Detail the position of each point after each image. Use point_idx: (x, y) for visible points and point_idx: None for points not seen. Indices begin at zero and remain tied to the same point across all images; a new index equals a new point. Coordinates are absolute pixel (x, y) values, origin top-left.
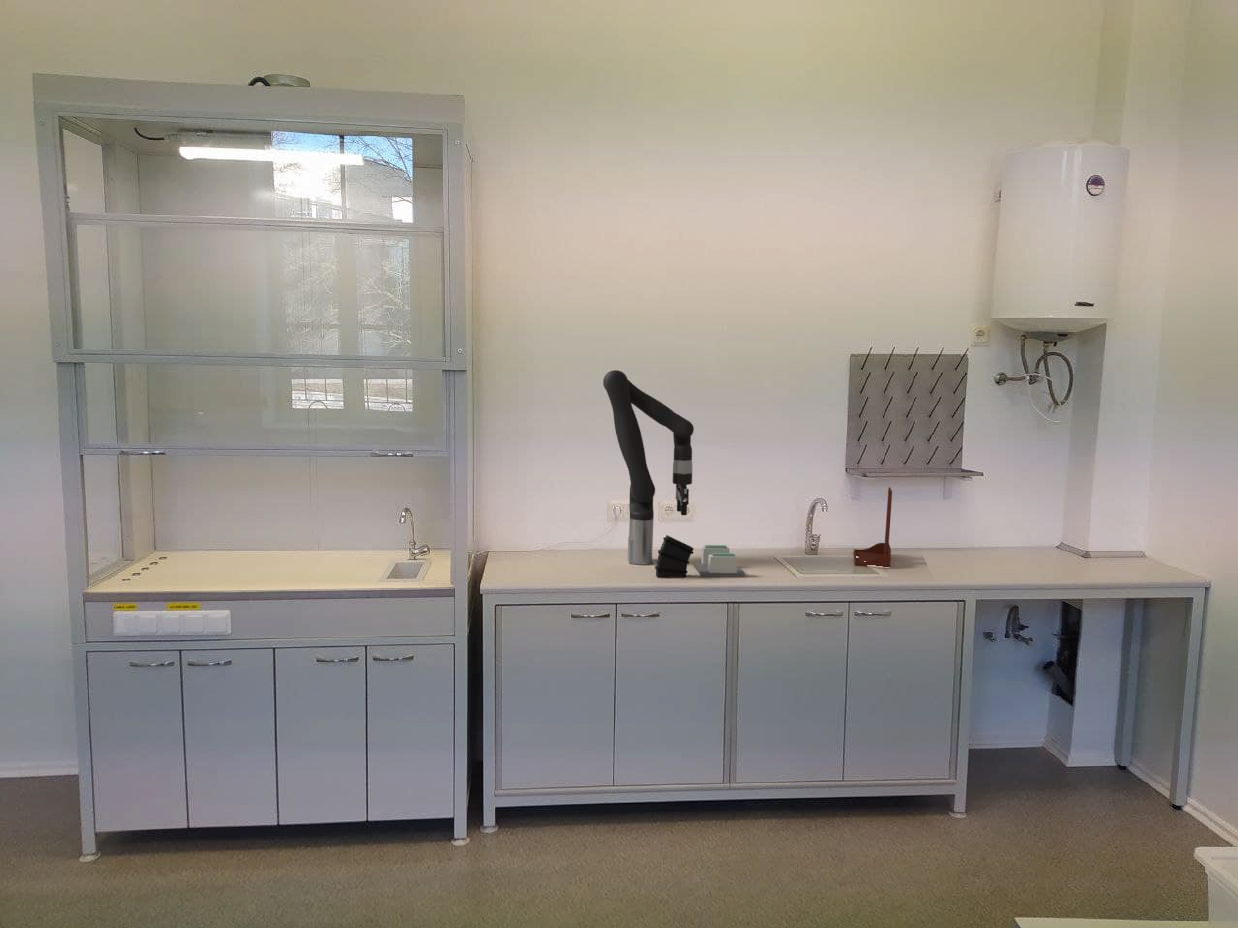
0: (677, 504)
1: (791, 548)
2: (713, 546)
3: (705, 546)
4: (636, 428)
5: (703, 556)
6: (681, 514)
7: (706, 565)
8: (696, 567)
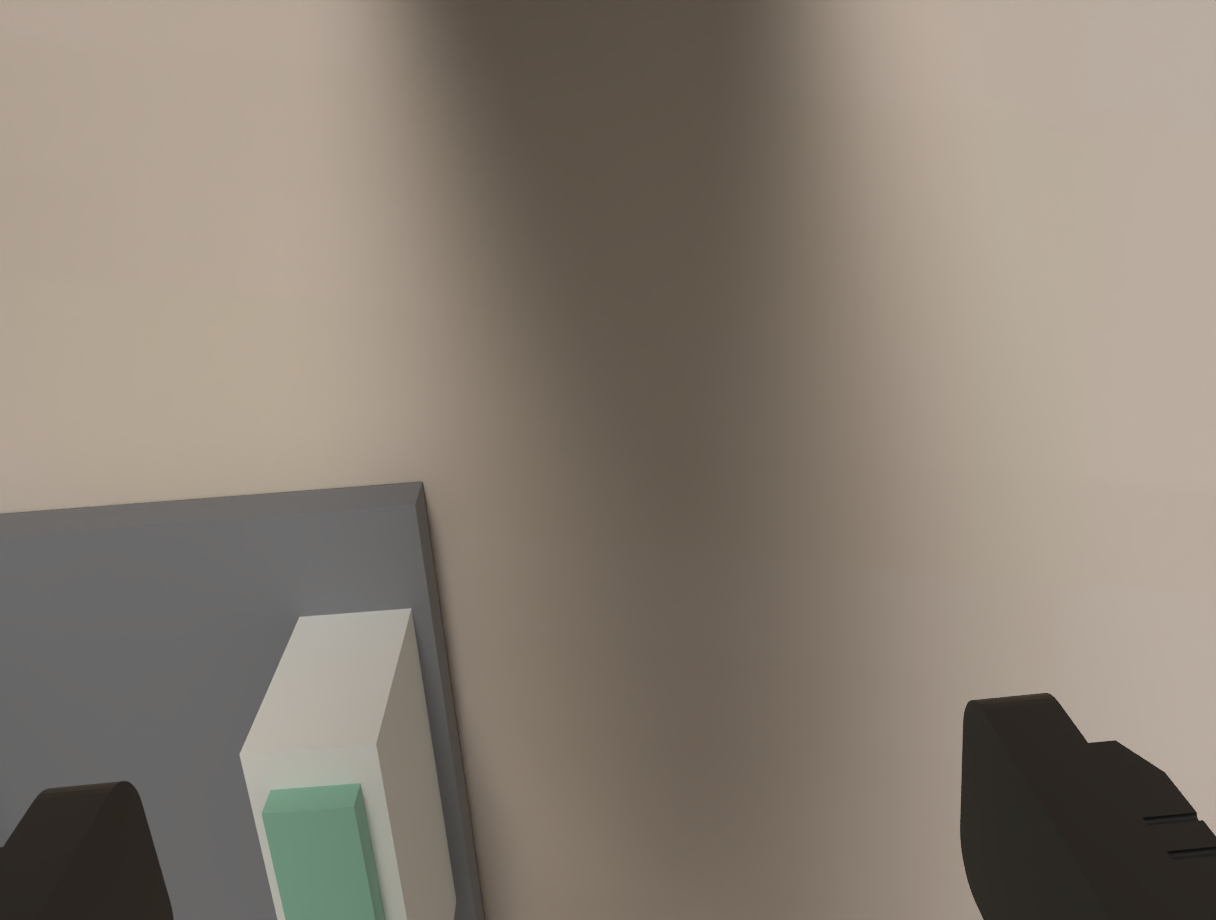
0: (1088, 901)
1: None
2: (287, 915)
3: (304, 801)
4: None
5: (275, 680)
6: (52, 801)
7: (228, 653)
8: (173, 513)
